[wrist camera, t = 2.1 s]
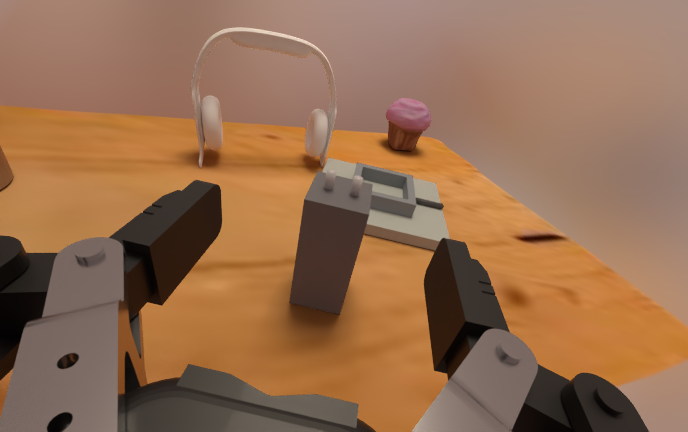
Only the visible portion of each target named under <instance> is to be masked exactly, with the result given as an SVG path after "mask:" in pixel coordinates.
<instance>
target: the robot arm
mask: <svg viewBox="0 0 688 432" xmlns="http://www.w3.org/2000/svg"><path fill="white" fill-rule="evenodd" d="M12 178H13V172H12V170H11V168H10V166H9V164H8V161H7V159H6V157H5V155H4V153H3V151H2V148H1V146H0V190H1V189H2V188H4V187H5V186H7V185H8V184H9V183H10V182H11V181H12ZM221 225H222V209H221V190H220V187H219V185H216V184H212V183H208V182H203V181H199V180H195V181H193V182H192V183H191V184H190V185H188V186H187V187H186V188H185V189H184V190H182V191H180V190H177V191H174V192H172V193H169V194H167V195H164V196H162V197H161V198H160V199H158V200H157V201H156V202H154V203H153V204H152V206H149V207H148V208H147V209H145V210H144V211H143V213H140V214H139V215H138V216H136V217H135V218H134V219H132V220H131V221H130V222H128V223H127V224H126V225H125V226H123V227H122V228H121V229H119V230H118V231H117V232H116V233H114V234H113V235H112V236H110V237H109V238H104V237H97V238H90V239H85V240H81V241H78V242H75V243H73V244H71V245H69V246H67V247H66V248H64V249H63V250H61V251H60V252H59V253H26V252H25V250H24V248H23V246H22V244H21V242H20V241H19V240H18V239H16V238H14V237H10V236H0V380H1V379H2V378H3V377H4V376H5V375H6V374H7V373H9V372H10V371H11V370H12V369H13V372H12V376H11V380H10V384H9V388H8V391H7V395H6V399H5V403H4V407H3V411H2V414H1V418H0V432H376V431H375V430H374V429H373V428H371V427H370V426H369V425H367V424H366V423H365V422H363V421H361V420H360V419H358V418H357V415H358V404H356V403H351V402H347V401H343V400H339V399H334V398H330V397H326V396H322V395H317V394H311V395H287V396H270V395H267V394H265V393H263V392H261V391H259V390H258V389H256V388H254V387H252V386H251V385H249V384H247V383H245V382H244V381H242V380H240V379H238V378H237V377H235V376H233V375H231V374H228V373H224V372H220V371H216V370H212V369H207V368H203V367H199V366H195V365H190V364H188V366H187V368H186V369H185V371H184V373H183V374H182V376H181V377H179V378H171V379H165V380H161V381H157V382H153V383H150V384H147V379H146V373H145V364H144V347H143V330H142V315H141V311H140V310H141V308H142V307H143V306H144V305H145V304H146V303H147V302H149V303H154V304H158V305H163V304H164V302H165V301H166V300H167V299H168V297H169V296H170V295H171V294H172V292H173V291H174V290H175V289H176V287H177V286H178V285H179V284H180V282H181V281H182V280H183V279H184V277H185V276H186V275H187V274H188V273H189V271H190V270H191V269H192V268H193V266H194V265H195V264H196V263H197V261H198V260H199V259H200V258H201V256H202V255H203V254H204V253H205V251H206V250H207V249H208V248H209V246H210V245H211V244H212V243H213V241H214V240H215V239H216V238H217V236H218V234H219V232H220V229H221ZM424 290H425V298H426V307H427V315H428V323H429V332H430V340H431V348H432V356H433V365H434V371H438V372H442V373H447V375H448V382H447V384H446V385H445V386H444V388H443V389H442V391H441V392H440V393H439V395H438V396H437V397H436V399H435V400H434V402H433V403H432V404H431V406H430V407H429V408H428V410H427V411H426V412H425V414H424V415H423V417H422V418H421V419H420V421H419V422H418V423H417V425H416V426H415V428H414V429H413V430H412V432H649V431H648V429H647V427H646V426H645V424H644V422H643V420H642V419H641V417H640V415H639V414H638V412H637V410H636V409H635V407H634V405H633V404H632V403H631V402H630V400H629V399H628V398H627V397H626V396H625V395H624V394H623V393H622V392H621V391H620V390H619V389H618V388H616V387H615V386H614V385H612V384H611V383H610V382H608V381H606V380H605V379H603V378H601V377H599V376H597V375H594V374H590V373H580V374H578V375H576V376H575V377H574V378H573V379H572V380H571V381H570V380H568V379H566V378H564V377H562V376H560V375H558V374H556V373H554V372H552V371H550V370H548V369H546V368H544V367H542V366H540V365H539V364H537V361H536V358H535V356H534V354H533V353H532V351H531V350H530V348H529V347H528V346H527V345H526V344H525V343H524V342H523V341H522V340H520V339H519V338H518V337H516V336H515V335H513V334H511V333H510V332H509V329H508V326H507V324H506V321H505V319H504V316H503V313H502V311H501V308H500V305H499V303H498V300H497V297H496V296H495V292H494V289H493V287H492V286H491V281H490V279H489V276H488V273H487V271H486V270H485V269H484V268H483V266H482V265H481V264H480V263H479V262H478V260H475V259H471V257H470V254H469V251H468V248H467V245H466V243H464V242H460V241H456V240H452V239H447V238H442V239H441V240H440V242H439V244H438V246H437V248H436V251H435V253H434V255H433V257H432V259H431V261H430V264H429V266H428V268H427V270H426V274H425V278H424Z"/></svg>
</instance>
